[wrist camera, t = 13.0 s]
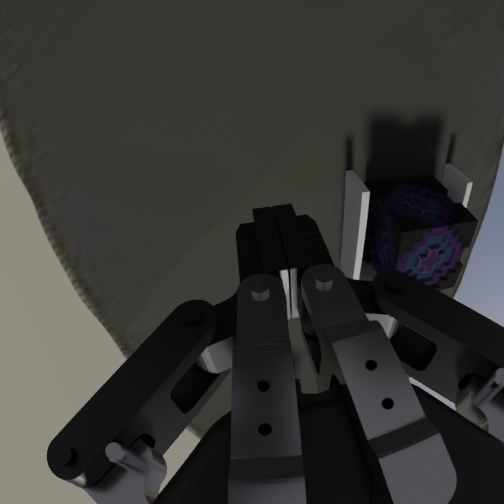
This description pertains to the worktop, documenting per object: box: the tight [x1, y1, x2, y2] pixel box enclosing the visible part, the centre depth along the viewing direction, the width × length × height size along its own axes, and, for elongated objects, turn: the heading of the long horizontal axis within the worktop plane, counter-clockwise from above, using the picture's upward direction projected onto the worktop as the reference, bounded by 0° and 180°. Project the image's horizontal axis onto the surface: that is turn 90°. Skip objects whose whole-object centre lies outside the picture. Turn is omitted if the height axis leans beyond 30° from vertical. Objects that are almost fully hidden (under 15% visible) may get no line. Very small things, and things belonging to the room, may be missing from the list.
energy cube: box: [363, 176, 478, 291], centre depth 41 cm, size 12×12×12 cm
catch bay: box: [340, 164, 473, 281], centre depth 44 cm, size 18×18×6 cm
